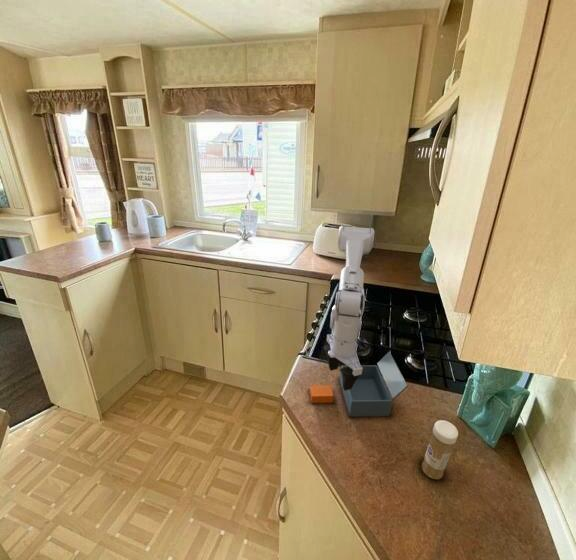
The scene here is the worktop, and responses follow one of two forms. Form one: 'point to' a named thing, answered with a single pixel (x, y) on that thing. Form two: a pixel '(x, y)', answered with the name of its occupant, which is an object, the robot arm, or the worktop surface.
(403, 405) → the worktop surface
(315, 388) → the packet
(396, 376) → the flap
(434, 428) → the sprinkles bottle
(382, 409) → the grey open box
